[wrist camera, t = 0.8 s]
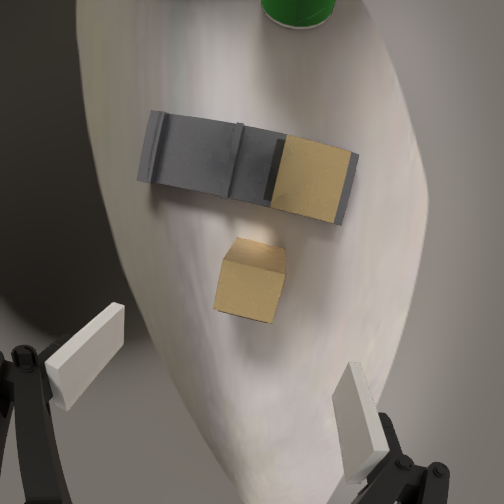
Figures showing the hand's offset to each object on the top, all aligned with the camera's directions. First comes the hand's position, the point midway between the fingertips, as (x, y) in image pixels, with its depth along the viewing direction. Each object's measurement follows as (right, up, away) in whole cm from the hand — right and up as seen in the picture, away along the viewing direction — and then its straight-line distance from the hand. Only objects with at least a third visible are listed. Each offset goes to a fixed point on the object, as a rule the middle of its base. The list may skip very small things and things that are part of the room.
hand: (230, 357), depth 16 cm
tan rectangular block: (+2, +4, +16) cm, 16 cm away
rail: (+1, +14, +13) cm, 19 cm away
